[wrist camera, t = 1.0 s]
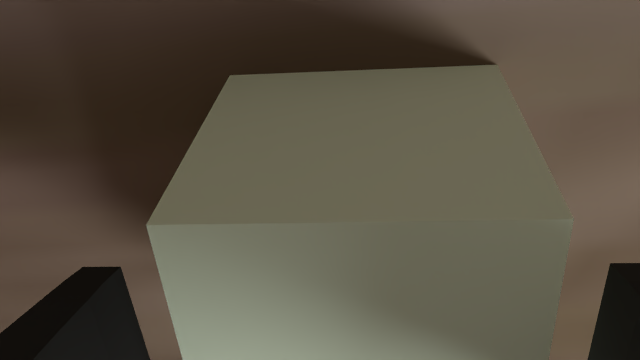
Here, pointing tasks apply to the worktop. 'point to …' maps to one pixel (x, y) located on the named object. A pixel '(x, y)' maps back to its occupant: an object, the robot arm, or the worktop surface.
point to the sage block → (363, 221)
